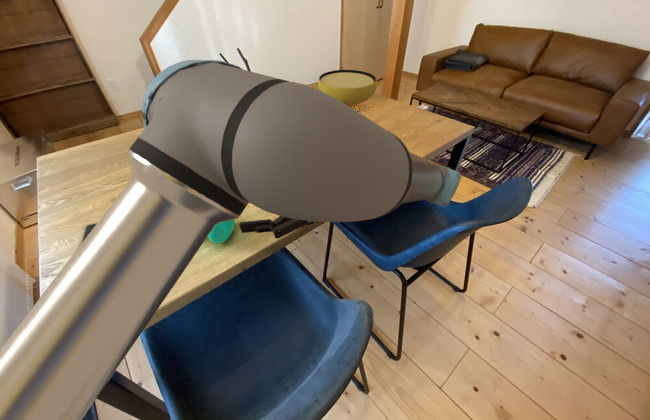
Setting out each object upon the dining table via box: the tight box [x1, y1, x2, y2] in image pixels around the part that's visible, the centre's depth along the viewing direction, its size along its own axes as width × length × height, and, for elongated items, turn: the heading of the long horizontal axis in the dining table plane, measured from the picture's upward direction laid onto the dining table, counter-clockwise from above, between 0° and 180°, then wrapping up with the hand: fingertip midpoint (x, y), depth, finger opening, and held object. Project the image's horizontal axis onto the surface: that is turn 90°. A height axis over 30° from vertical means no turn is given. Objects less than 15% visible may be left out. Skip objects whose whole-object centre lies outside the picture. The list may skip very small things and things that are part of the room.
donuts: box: [207, 219, 236, 244], centre depth 67 cm, size 10×10×10 cm
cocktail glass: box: [317, 69, 378, 108], centre depth 92 cm, size 18×18×25 cm
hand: (242, 207), depth 66 cm, fingers open, 13 cm apart
